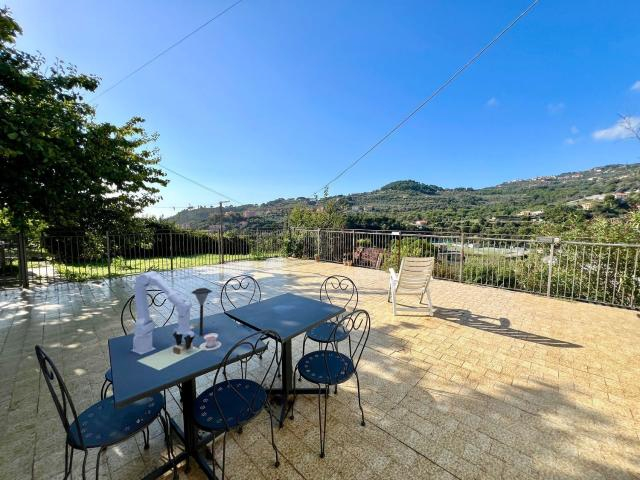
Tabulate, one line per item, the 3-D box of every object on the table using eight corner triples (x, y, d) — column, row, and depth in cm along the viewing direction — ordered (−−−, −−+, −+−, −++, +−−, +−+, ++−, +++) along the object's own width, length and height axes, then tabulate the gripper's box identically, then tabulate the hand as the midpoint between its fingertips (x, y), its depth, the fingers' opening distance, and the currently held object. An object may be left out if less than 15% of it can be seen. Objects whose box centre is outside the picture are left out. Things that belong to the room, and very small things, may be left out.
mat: (136, 361, 135) (136, 360, 135) (181, 343, 157) (181, 342, 157) (159, 371, 127) (159, 369, 127) (202, 350, 149) (202, 349, 149)
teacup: (213, 352, 148) (213, 341, 148) (194, 349, 150) (194, 338, 150) (225, 343, 160) (225, 333, 159) (207, 340, 162) (207, 331, 162)
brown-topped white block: (187, 346, 152) (187, 341, 152) (192, 348, 150) (192, 343, 150) (173, 352, 144) (173, 347, 144) (178, 354, 142) (178, 349, 142)
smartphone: (202, 323, 189) (187, 330, 174) (202, 325, 189) (187, 332, 174) (194, 322, 190) (178, 329, 176) (193, 323, 190) (178, 331, 176)
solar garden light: (206, 339, 163) (207, 291, 162) (186, 338, 164) (187, 291, 162) (214, 331, 176) (215, 287, 174) (196, 331, 176) (197, 286, 175)
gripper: (168, 322, 146) (168, 346, 147) (186, 327, 140) (186, 352, 140) (180, 318, 153) (180, 341, 153) (197, 323, 146) (197, 347, 147)
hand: (183, 346), depth 147 cm, fingers open, 7 cm apart
